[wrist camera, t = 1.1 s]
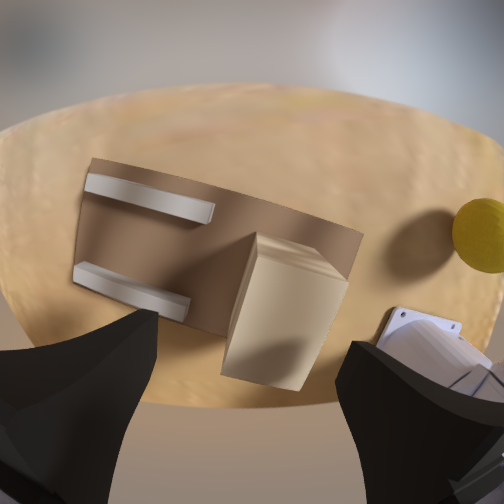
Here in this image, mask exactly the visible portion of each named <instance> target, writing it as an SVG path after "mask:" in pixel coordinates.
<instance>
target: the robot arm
mask: <svg viewBox="0 0 504 504" xmlns="http://www.w3.org/2000/svg"><path fill="white" fill-rule="evenodd" d="M403 312H404V314H403V315H402V316H401V314H402V313H403ZM158 314H159V312H157V311H152V310H148V309H144V308H142V309H139V310H137V311H135V312H133V313H131V314H129V315H127V316H125V317H123V318H121V319H119V320H117V321H114V322H112V323H110V324H108V325H106V326H104V327H101V328H99V329H97V330H94V331H92V332H89V333H87V334H85V335H82V336H79V337H76V338H73V339H70V340H67V341H63V342H60V343H56V344H52V345H46V346H41V347H35V348H29V349H21V350H6V351H0V504H108V498H109V492H110V488H111V483H112V478H113V474H114V470H115V466H116V462H117V458H118V454H119V451H120V447H121V444H122V440H123V438H124V434H125V432H126V429H127V427H128V424H129V422H130V420H131V418H132V416H133V413H134V411H135V409H136V407H137V405H138V403H139V401H140V399H141V397H142V395H143V393H144V391H145V388H146V386H147V384H148V382H149V380H150V377H151V374H152V371H153V368H154V365H155V362H156V358H157V333H158ZM461 328H462V324H461V323H459V322H456V321H453V320H449V319H445V318H441V317H437V316H433V315H429V314H426V313H422V312H418V311H414V310H410V309H407V308H403V307H396V308H394V310H393V311H392V313H391V316H390V318H389V320H388V322H387V324H386V326H385V328H384V331H383V333H382V335H381V337H380V339H379V341H378V343H377V345H376V346H374V345H372V344H370V343H368V342H364V341H352V343H351V345H350V348H349V350H348V352H347V355H346V357H345V360H344V362H343V364H342V366H341V369H340V371H339V373H338V375H337V378H336V380H335V385H336V390H337V395H338V399H339V403H340V405H341V408H342V410H343V413H344V416H345V419H346V421H347V424H348V426H349V429H350V431H351V434H352V436H353V439H354V442H355V444H356V447H357V450H358V453H359V458H360V462H361V467H362V471H363V476H364V483H365V489H366V499H367V504H504V360H501V361H499V362H494V363H493V364H492V363H491V361H490V360H489V359H488V358H487V357H485V356H484V355H483V354H482V353H481V352H480V351H479V350H477V349H476V348H475V347H474V346H473V345H471V344H470V343H469V342H468V341H467V340H465V339H464V338H463V337H462V336H461V335H459V332H460V330H461Z"/></svg>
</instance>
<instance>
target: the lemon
mask: <svg viewBox="0 0 504 504" xmlns="http://www.w3.org/2000/svg"><path fill="white" fill-rule="evenodd" d="M452 238H453V243H454V246H455V249H456V251H457V253H458V255H459V256H460V258H461V259H462V260H463V261H464V262H465V263H466V264H468V265H469V266H470V267H472V268H474V269H476V270H478V271H482V272H485V273H501V272H504V204H503V203H501V202H498V201H496V200H493V199H487V198H483V199H475V200H472V201H470V202H468V203H466V204H465V205H464V206H463V207H462V208H461V209H460V210H459V211H458V213H457V215H456V216H455V219H454V222H453V227H452Z"/></svg>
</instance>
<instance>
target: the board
mask: <svg viewBox="0 0 504 504" xmlns="http://www.w3.org/2000/svg"><path fill="white" fill-rule="evenodd" d="M84 191H85V192H84V197H83V202H82V208H81V214H80V220H79V227H78V235H77V243H76V253H75V264H74V272H73V283H74V284H77V285H79V286H81V287H83V288H86V289H88V290H90V291H93V292H95V293H98V294H100V295H102V296H105V297H107V298H110V299H112V300H115V301H118V302H120V303H123V304H125V305H128V306H131V307H133V308H136V309H142V308H144V309H148V310H152V311H157V312H159V314H158V317H161V318H164V319H167V320H170V321H173V322H176V323H180V324H183V325H186V326H189V327H192V328H195V329H199V330H202V331H205V332H209V333H212V334H216V335H219V336H223V337H226V338H227V336H228V330H229V325H230V319H231V314H232V311H233V307H234V304H235V301H236V297H237V294H238V291H239V287H240V284H241V281H242V277H243V274H244V271H245V268H246V264H247V261H248V258H249V254H250V251H251V248H252V244H253V241H254V238H255V235H256V231H258V232H261V233H264V234H268V235H271V236H274V237H278V238H281V239H284V240H288V241H291V242H294V243H297V244H301V245H304V246H307V247H310V248H314V249H315V250H316V251H318V252H319V253H320V254H321V255H322V256H323V257H324V258H325V259H326V260H327V261H328V262H329V263H330V264H331V265H332V266H333V267H334V268H335V269H336V270H337V271H338V272H339V273H340V274H341V275H342V276H343V277H344V278H345V279H346V280H347V279H348V276H349V274H350V271H351V268H352V266H353V263H354V260H355V257H356V255H357V252H358V249H359V246H360V243H361V240H362V237H363V233H361V232H358V231H355V230H353V229H350V228H347V227H344V226H341V225H338V224H336V223H333V222H330V221H327V220H324V219H321V218H318V217H315V216H312V215H309V214H306V213H303V212H300V211H296V210H293V209H290V208H287V207H284V206H281V205H277V204H274V203H271V202H268V201H264V200H261V199H258V198H254V197H251V196H248V195H244V194H241V193H237V192H234V191H230V190H227V189H223V188H219V187H216V186H212V185H208V184H205V183H201V182H197V181H193V180H189V179H185V178H182V177H178V176H174V175H169V174H165V173H161V172H157V171H153V170H149V169H144V168H140V167H135V166H131V165H126V164H122V163H117V162H112V161H108V160H103V159H97V158H92V160H91V164H90V169H89V173H88V175H87V179H86V184H85V189H84Z"/></svg>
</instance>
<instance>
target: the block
mask: <svg viewBox="0 0 504 504" xmlns="http://www.w3.org/2000/svg"><path fill="white" fill-rule="evenodd" d="M348 285H349V282H348V281H347V280H346V279H345V278H344V277H343V276H342V275H341V274H340V273H339V272H338V271H337V270H336V269H335V268H334V267H333V266H332V265H331V264H330V263H329V262H328V261H327V260H326V259H325V258H324V257H323V256H322V255H321V254H320V253H319V252H318V251H316V250H315V249H314V248H310V247H307V246H304V245H301V244H297V243H294V242H291V241H288V240H284V239H281V238H278V237H274V236H271V235H268V234H264V233H261V232H258V231H256V235H255V238H254V241H253V244H252V248H251V251H250V254H249V258H248V261H247V264H246V268H245V271H244V274H243V277H242V281H241V284H240V287H239V291H238V294H237V297H236V301H235V304H234V307H233V311H232V314H231V319H230V325H229V330H228V336H227V341H226V347H225V352H224V358H223V363H222V369H221V374H220V375H224V376H227V377H231V378H236V379H240V380H244V381H248V382H253V383H257V384H262V385H267V386H272V387H277V388H283V389H288V390H294V391H300V389H301V387H302V386H303V384H304V382H305V380H306V378H307V376H308V374H309V372H310V370H311V368H312V366H313V364H314V362H315V360H316V358H317V356H318V354H319V352H320V350H321V347H322V345H323V343H324V341H325V339H326V337H327V334H328V332H329V330H330V328H331V326H332V323H333V321H334V319H335V316H336V314H337V312H338V309H339V307H340V305H341V302H342V300H343V297H344V295H345V292H346V290H347V287H348Z"/></svg>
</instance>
